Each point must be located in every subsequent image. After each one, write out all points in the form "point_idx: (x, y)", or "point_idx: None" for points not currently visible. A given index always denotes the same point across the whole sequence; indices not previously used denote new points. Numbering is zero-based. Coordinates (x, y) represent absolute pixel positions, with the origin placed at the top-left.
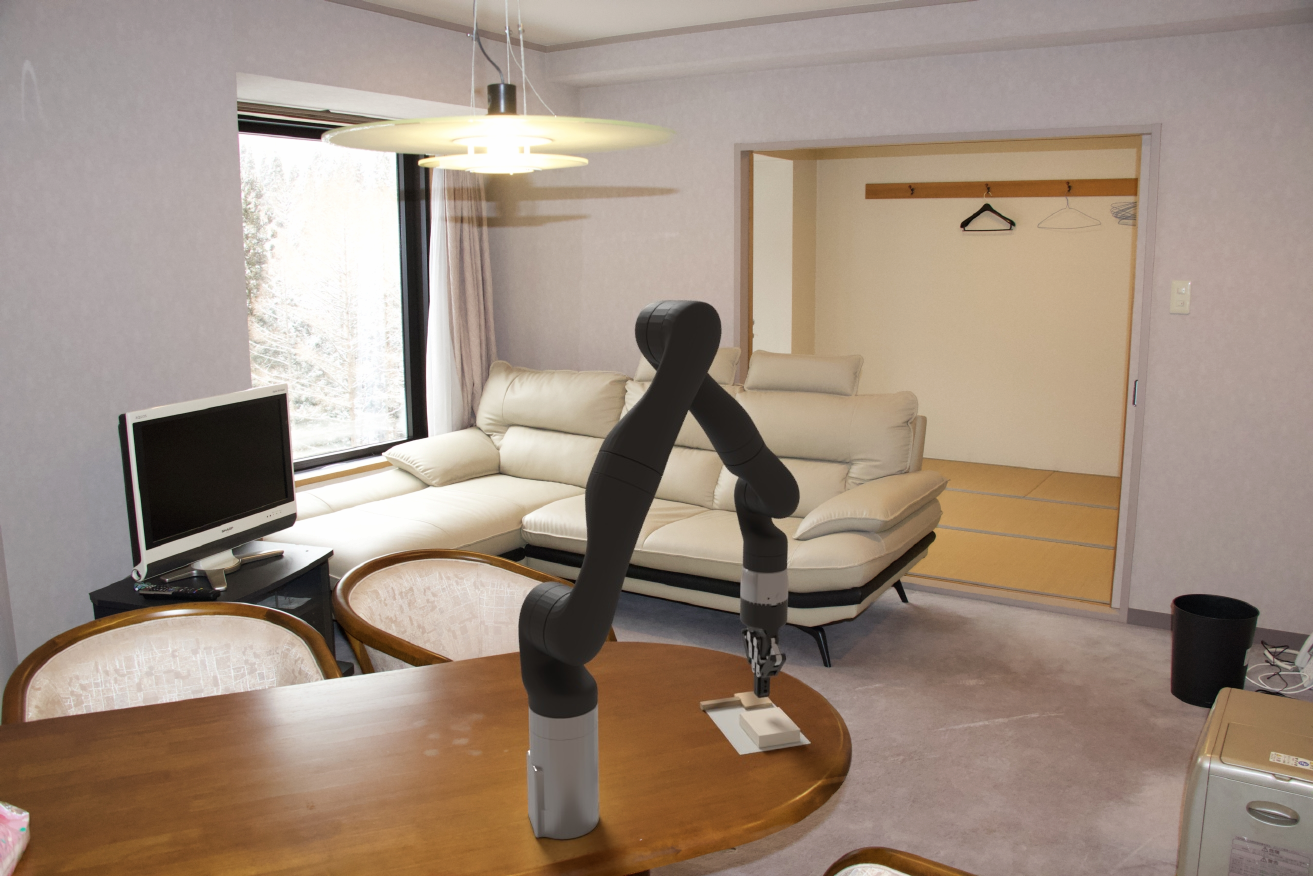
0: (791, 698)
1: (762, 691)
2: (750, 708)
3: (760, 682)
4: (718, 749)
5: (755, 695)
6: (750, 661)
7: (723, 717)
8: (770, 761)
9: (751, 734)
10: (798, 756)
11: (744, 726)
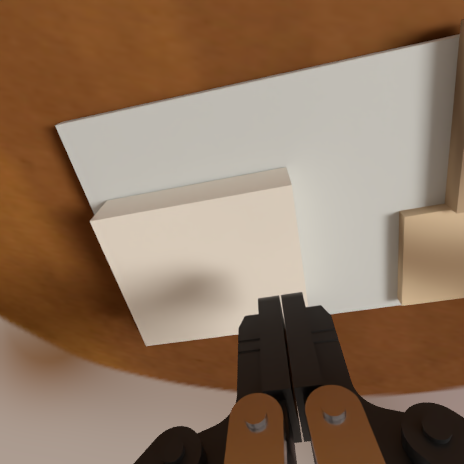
0: (447, 347)
1: (239, 341)
2: (400, 230)
3: (253, 373)
4: (136, 47)
5: None
6: (406, 443)
7: (362, 114)
8: (67, 216)
9: (166, 195)
10: (105, 291)
11: (234, 183)
